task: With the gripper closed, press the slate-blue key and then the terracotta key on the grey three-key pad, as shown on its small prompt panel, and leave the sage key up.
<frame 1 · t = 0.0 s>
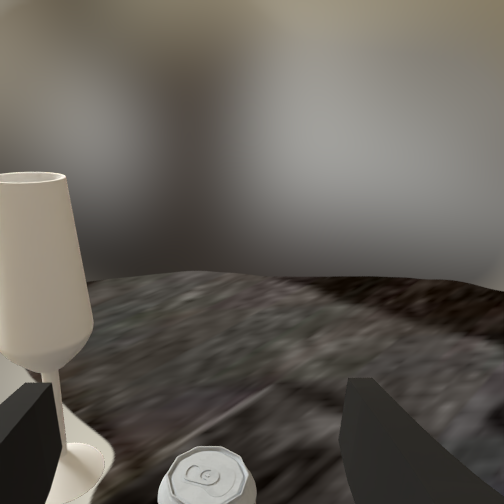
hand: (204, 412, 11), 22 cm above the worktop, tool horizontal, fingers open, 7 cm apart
champagne flute: (62, 473, 37), on the worktop
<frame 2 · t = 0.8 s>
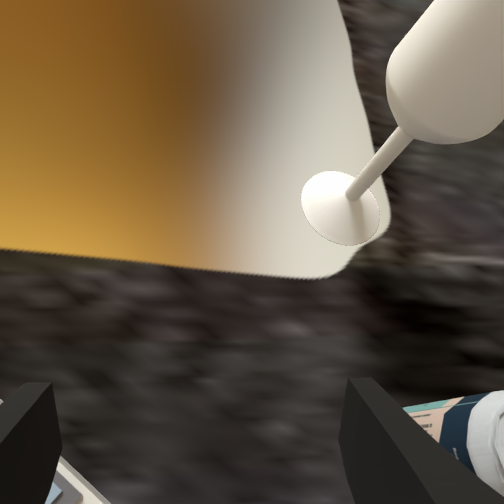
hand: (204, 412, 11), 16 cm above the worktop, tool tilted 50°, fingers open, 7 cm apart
beige capped bottle: (381, 452, 28), on the worktop
champagne flute: (340, 208, 35), on the worktop
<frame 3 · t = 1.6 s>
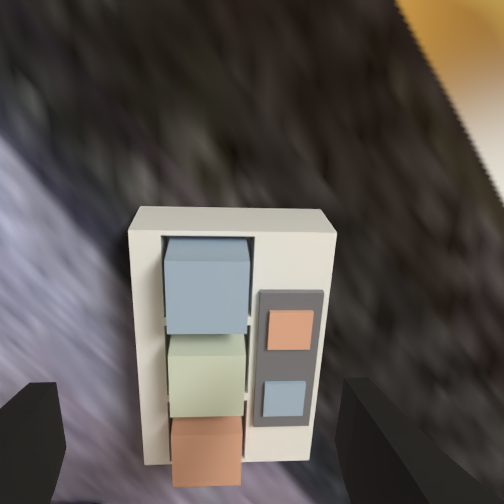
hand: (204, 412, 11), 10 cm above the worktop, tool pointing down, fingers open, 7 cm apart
slate blue key: (207, 283, 17), point 4 cm above the worktop, slide at 0.0 cm
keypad: (228, 323, 22), on the worktop
terracotta key: (207, 439, 21), point 4 cm above the worktop, slide at 0.0 cm
sage key: (207, 368, 19), point 4 cm above the worktop, slide at 0.0 cm
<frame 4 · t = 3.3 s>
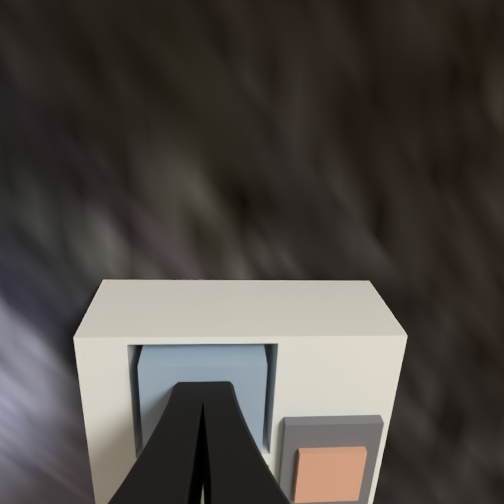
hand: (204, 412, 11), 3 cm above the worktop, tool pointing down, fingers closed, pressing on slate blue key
slate blue key: (204, 384, 12), point 2 cm above the worktop, slide at 1.2 cm, touching gripper
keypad: (234, 432, 16), on the worktop
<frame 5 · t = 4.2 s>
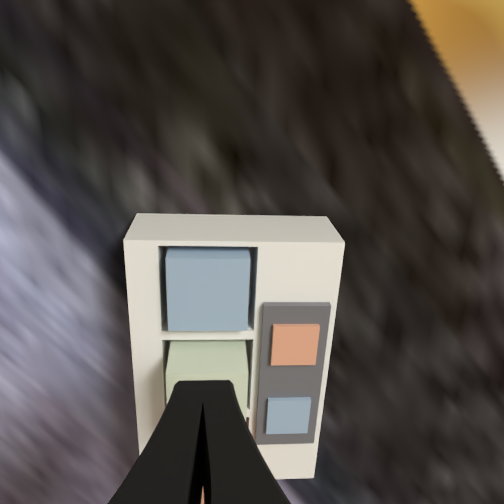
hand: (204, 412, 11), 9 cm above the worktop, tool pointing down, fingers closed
slate blue key: (208, 281, 18), point 2 cm above the worktop, slide at 1.3 cm
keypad: (230, 335, 21), on the worktop
terracotta key: (207, 458, 20), point 4 cm above the worktop, slide at 0.0 cm
sage key: (207, 384, 18), point 4 cm above the worktop, slide at 0.0 cm
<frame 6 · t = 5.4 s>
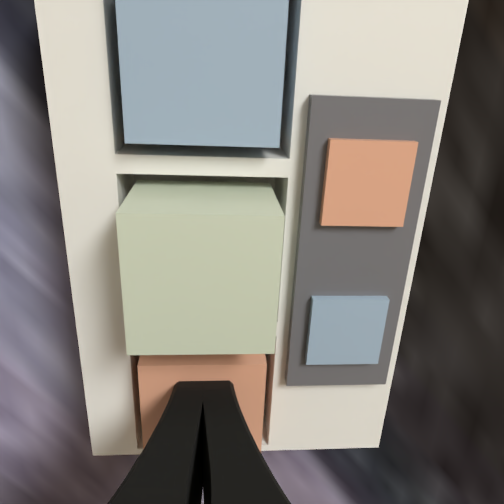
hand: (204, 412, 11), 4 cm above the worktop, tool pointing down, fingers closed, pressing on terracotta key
slate blue key: (204, 62, 9), point 2 cm above the worktop, slide at 1.3 cm
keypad: (240, 213, 13), on the worktop
terracotta key: (204, 383, 12), point 3 cm above the worktop, slide at 1.0 cm, touching gripper
sage key: (203, 263, 10), point 3 cm above the worktop, slide at 0.0 cm
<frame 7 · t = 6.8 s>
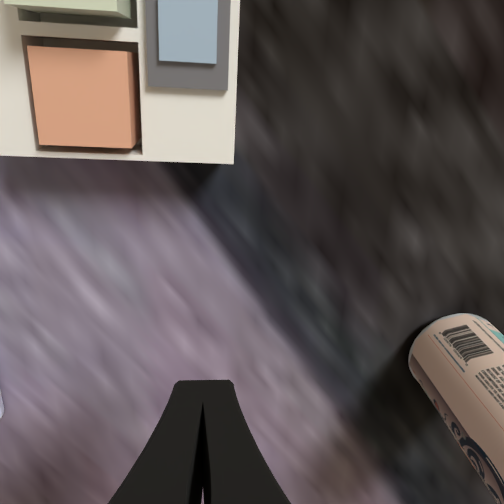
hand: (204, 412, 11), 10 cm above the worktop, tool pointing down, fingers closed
terracotta key: (90, 96, 16), point 2 cm above the worktop, slide at 1.3 cm
beige capped bottle: (446, 344, 24), on the worktop
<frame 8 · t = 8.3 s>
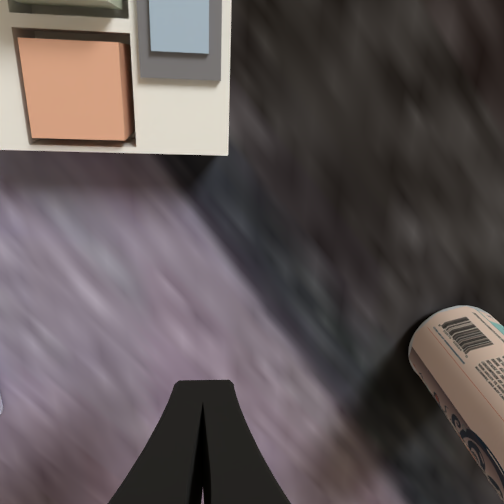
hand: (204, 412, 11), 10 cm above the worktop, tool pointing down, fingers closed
terracotta key: (83, 89, 15), point 2 cm above the worktop, slide at 1.3 cm
beige capped bottle: (446, 337, 24), on the worktop
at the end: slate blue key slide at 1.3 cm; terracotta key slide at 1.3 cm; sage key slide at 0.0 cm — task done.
